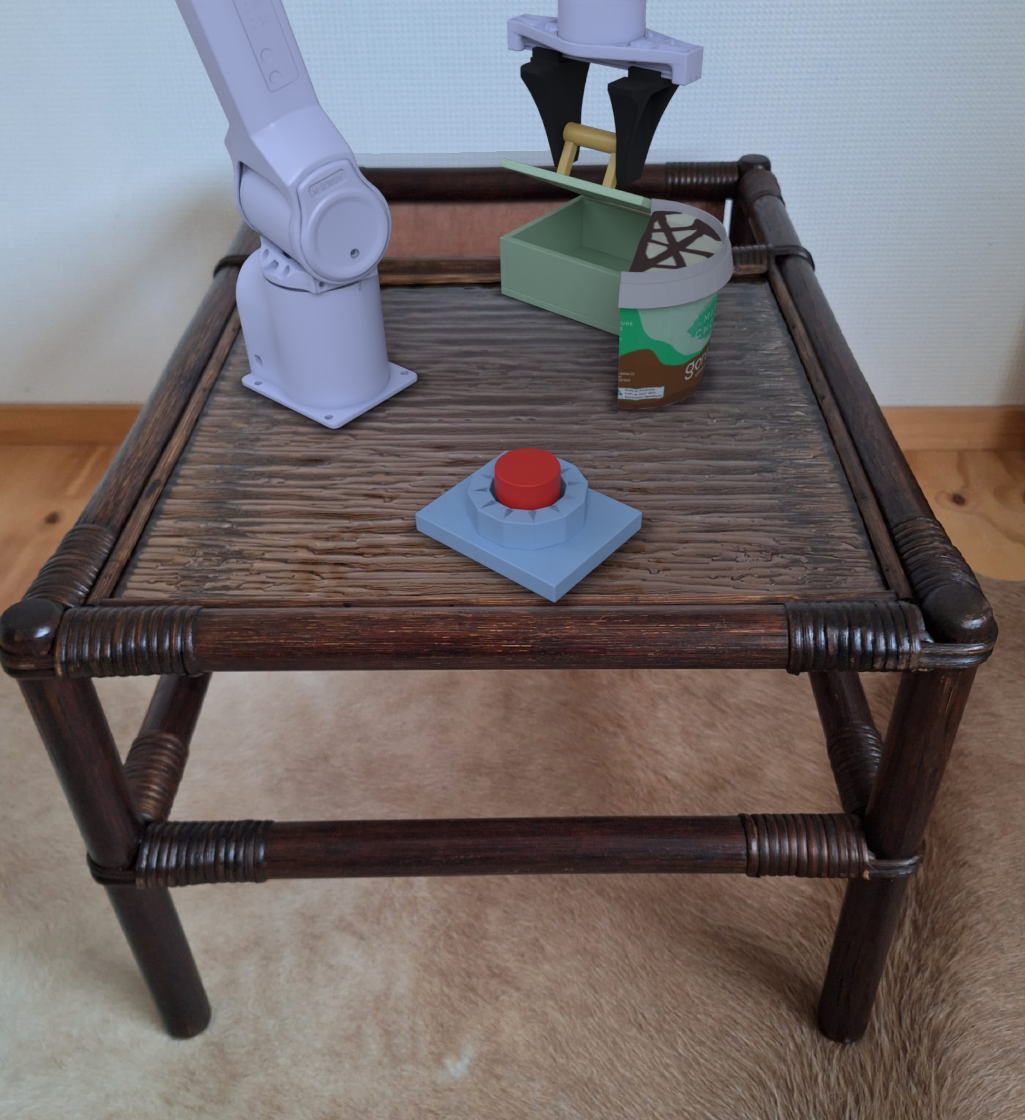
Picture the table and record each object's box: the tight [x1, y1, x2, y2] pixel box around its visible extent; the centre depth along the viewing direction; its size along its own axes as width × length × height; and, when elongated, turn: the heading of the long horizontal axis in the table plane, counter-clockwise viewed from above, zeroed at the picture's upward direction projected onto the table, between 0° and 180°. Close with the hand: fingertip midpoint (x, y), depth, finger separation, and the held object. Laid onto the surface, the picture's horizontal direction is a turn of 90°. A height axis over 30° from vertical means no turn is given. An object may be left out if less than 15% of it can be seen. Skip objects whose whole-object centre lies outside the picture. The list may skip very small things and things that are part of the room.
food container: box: [617, 198, 734, 410], centre depth 70 cm, size 12×6×10 cm, turn 165°
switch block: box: [414, 450, 643, 604], centre depth 60 cm, size 10×8×3 cm
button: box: [494, 447, 561, 511], centre depth 59 cm, size 4×4×2 cm
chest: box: [499, 194, 651, 336], centre depth 82 cm, size 10×12×5 cm
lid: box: [500, 122, 652, 215], centre depth 78 cm, size 11×12×4 cm
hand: (597, 172), depth 76 cm, fingers closed on lid, 5 cm apart
